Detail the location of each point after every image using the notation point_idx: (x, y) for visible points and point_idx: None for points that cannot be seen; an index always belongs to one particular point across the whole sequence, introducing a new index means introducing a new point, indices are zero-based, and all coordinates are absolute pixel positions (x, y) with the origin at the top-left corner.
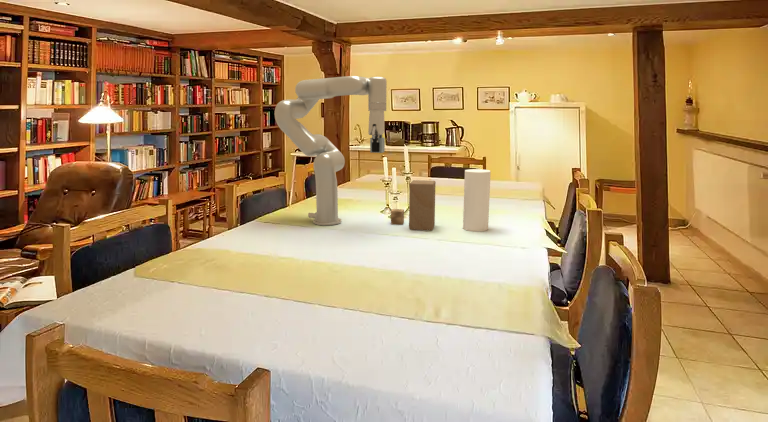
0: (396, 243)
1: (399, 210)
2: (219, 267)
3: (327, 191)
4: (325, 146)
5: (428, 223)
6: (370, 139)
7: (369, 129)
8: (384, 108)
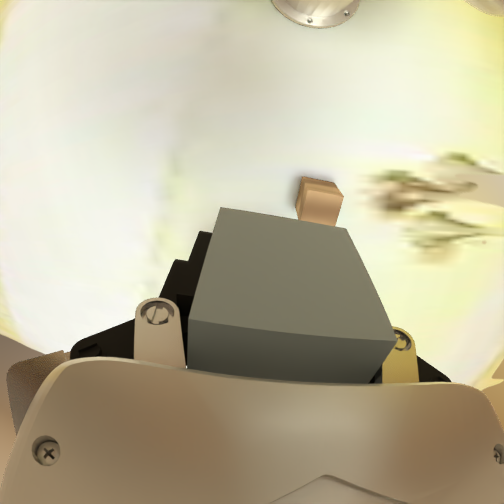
0: (101, 202)
1: (318, 216)
2: None
3: None
4: None
5: None
6: (194, 305)
7: (21, 439)
8: None
